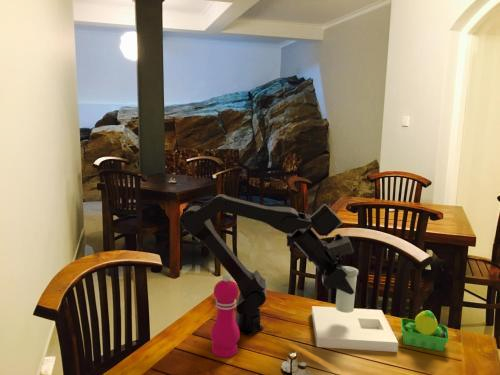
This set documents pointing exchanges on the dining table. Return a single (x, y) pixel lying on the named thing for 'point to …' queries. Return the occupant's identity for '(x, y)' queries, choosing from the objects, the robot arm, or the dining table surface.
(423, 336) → the fruit basket
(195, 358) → the dining table surface
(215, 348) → the pepper mill
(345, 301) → the grey cylinder
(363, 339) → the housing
